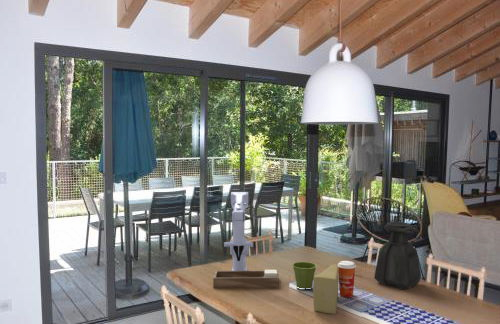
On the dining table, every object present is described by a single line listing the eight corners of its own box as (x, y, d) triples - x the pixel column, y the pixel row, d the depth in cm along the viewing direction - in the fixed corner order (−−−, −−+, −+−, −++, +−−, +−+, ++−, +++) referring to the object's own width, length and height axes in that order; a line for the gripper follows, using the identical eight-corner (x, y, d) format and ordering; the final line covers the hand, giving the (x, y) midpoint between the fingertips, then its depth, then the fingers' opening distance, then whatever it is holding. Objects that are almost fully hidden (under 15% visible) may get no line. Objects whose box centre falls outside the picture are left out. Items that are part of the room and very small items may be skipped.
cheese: (325, 294, 197) (325, 262, 196) (346, 297, 193) (346, 264, 192) (312, 311, 177) (312, 275, 176) (335, 315, 173) (336, 278, 172)
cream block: (264, 277, 215) (264, 269, 215) (276, 277, 215) (276, 269, 215) (264, 281, 209) (264, 273, 209) (277, 281, 209) (277, 273, 209)
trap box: (215, 279, 218) (215, 270, 218) (277, 279, 218) (277, 270, 218) (213, 287, 206) (213, 278, 206) (279, 287, 206) (279, 278, 206)
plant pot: (316, 293, 198) (316, 269, 198) (290, 291, 200) (290, 267, 200) (317, 284, 210) (317, 262, 209) (293, 283, 212) (293, 261, 212)
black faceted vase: (372, 283, 212) (373, 223, 210) (388, 276, 223) (389, 219, 222) (407, 292, 199) (408, 228, 198) (422, 284, 211) (423, 223, 209)
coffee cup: (334, 296, 193) (335, 264, 193) (340, 291, 201) (340, 259, 200) (353, 299, 189) (353, 266, 189) (357, 294, 197) (358, 261, 196)
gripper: (223, 235, 211) (223, 262, 211) (253, 235, 211) (253, 262, 211) (224, 232, 218) (224, 259, 219) (252, 232, 218) (252, 258, 219)
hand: (238, 260), depth 215 cm, fingers closed
